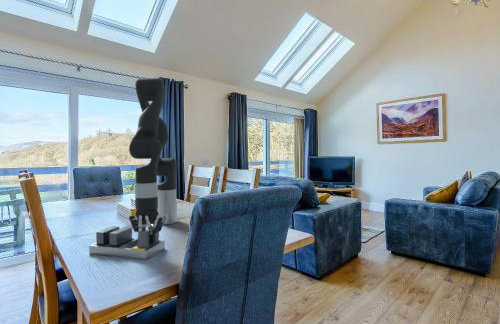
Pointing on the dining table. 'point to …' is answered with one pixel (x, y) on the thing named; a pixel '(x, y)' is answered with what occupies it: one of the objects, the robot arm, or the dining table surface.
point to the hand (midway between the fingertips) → (147, 243)
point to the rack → (122, 244)
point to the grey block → (145, 239)
